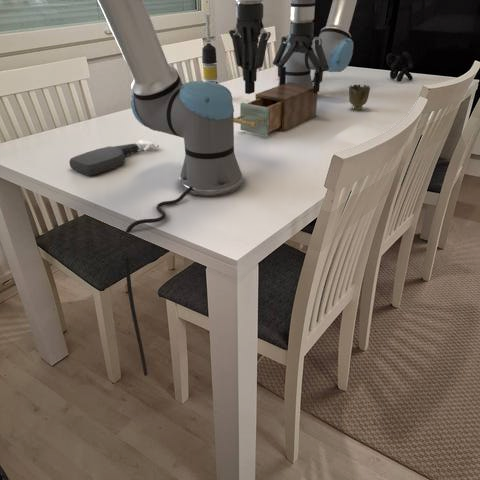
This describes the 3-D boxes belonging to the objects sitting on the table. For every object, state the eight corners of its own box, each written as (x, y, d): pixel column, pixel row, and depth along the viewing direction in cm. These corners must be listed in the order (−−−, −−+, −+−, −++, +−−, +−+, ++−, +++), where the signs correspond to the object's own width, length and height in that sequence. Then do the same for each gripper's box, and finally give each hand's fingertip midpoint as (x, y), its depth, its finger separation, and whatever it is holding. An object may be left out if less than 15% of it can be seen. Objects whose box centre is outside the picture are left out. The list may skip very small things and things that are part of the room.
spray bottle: (67, 168, 120) (139, 144, 136) (91, 178, 114) (163, 151, 130) (65, 157, 118) (137, 134, 134) (89, 167, 112) (162, 142, 128)
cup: (344, 110, 161) (346, 87, 157) (349, 105, 167) (352, 83, 162) (364, 113, 158) (367, 90, 154) (369, 107, 164) (372, 85, 159)
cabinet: (284, 131, 143) (285, 99, 138) (255, 125, 149) (255, 94, 144) (315, 116, 157) (318, 86, 151) (288, 110, 163) (289, 81, 157)
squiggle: (400, 92, 202) (376, 71, 205) (417, 76, 202) (392, 56, 205) (405, 81, 191) (380, 59, 194) (423, 64, 191) (397, 42, 194)
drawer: (255, 141, 133) (255, 113, 129) (229, 134, 139) (228, 107, 134) (299, 120, 150) (300, 94, 145) (274, 115, 155) (275, 90, 151)
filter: (220, 99, 177) (217, 15, 161) (206, 100, 176) (202, 16, 160) (215, 96, 182) (212, 14, 166) (202, 97, 180) (197, 14, 164)
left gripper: (277, 2, 118) (275, 93, 131) (238, 0, 125) (240, 87, 138) (261, 4, 113) (260, 98, 126) (221, 2, 120) (224, 92, 133)
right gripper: (343, 22, 137) (336, 92, 149) (276, 17, 151) (274, 82, 162) (331, 24, 133) (325, 97, 144) (263, 20, 146) (262, 87, 157)
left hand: (249, 92), depth 132 cm, fingers closed
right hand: (298, 89), depth 153 cm, fingers open, 13 cm apart
